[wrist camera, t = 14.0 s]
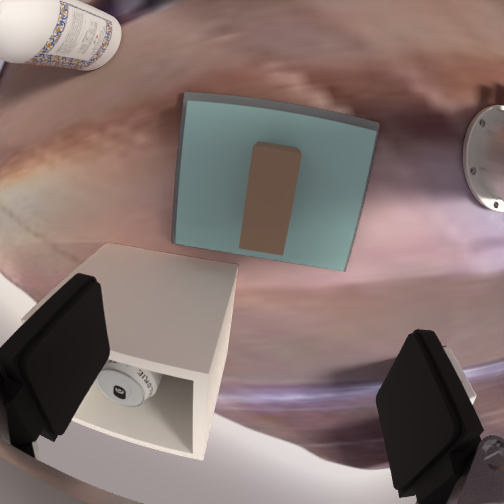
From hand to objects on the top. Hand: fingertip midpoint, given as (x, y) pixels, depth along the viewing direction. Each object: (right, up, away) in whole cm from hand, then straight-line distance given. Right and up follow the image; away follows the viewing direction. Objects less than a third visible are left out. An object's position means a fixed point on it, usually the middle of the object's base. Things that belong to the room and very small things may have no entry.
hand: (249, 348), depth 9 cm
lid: (+2, +9, +21) cm, 23 cm away
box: (-10, -3, +29) cm, 31 cm away
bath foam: (-17, +26, +17) cm, 35 cm away
